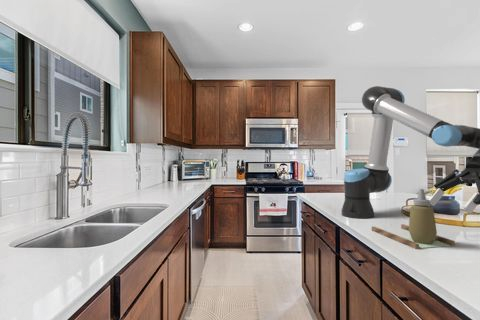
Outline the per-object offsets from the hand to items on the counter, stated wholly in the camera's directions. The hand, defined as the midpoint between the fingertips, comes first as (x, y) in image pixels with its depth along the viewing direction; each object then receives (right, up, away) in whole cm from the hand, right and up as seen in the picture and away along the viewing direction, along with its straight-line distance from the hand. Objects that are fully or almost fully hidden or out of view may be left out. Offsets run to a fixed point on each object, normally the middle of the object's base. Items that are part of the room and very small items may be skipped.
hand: (447, 206), depth 91 cm
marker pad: (-10, -12, -1) cm, 16 cm away
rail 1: (-17, -12, +4) cm, 21 cm away
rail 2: (-4, -12, +5) cm, 14 cm away
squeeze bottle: (-10, -12, -1) cm, 15 cm away
